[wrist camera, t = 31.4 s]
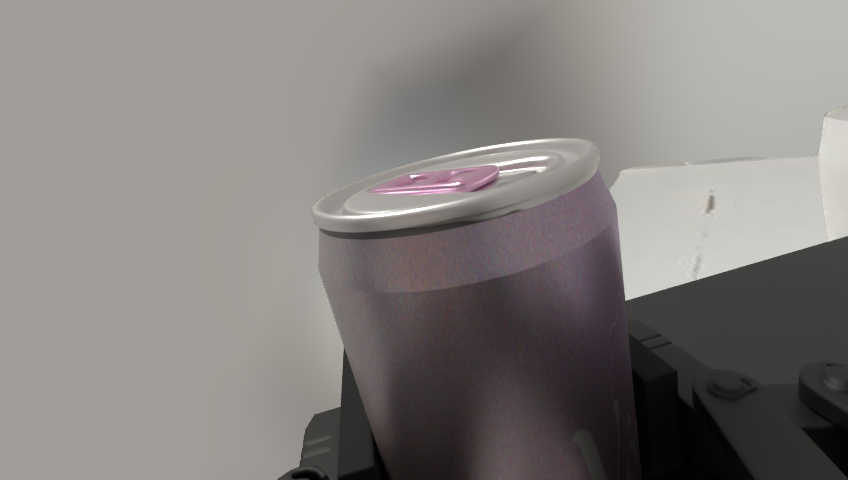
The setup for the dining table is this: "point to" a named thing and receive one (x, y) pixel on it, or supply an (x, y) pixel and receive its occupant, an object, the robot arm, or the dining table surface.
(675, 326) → the cabinet
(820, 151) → the cup
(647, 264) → the dining table surface
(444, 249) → the beverage can
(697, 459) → the robot arm
